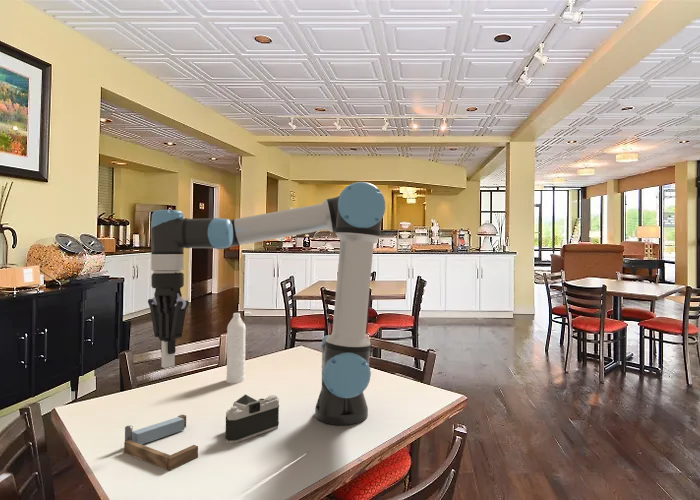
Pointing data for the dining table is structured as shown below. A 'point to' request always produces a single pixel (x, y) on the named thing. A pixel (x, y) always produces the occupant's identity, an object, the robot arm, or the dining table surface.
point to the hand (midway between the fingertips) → (168, 366)
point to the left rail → (182, 457)
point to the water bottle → (236, 349)
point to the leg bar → (158, 430)
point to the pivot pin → (128, 433)
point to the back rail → (146, 454)
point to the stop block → (184, 419)
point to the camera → (251, 417)
